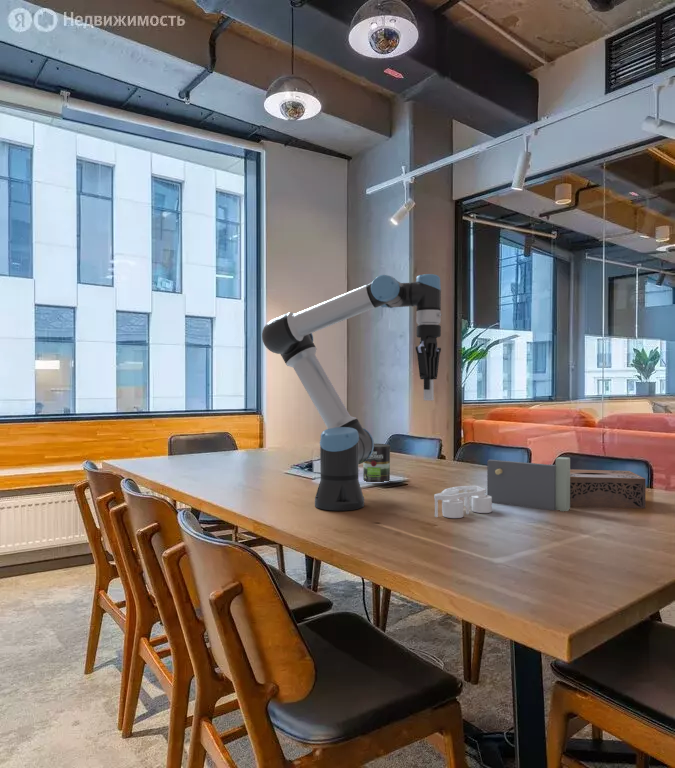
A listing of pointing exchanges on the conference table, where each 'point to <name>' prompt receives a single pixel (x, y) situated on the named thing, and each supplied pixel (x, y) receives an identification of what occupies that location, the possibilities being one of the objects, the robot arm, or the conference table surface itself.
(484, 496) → the white framed double cylinder
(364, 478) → the coffee can
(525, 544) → the conference table surface
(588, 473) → the tissue box cover
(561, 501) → the door leaf
